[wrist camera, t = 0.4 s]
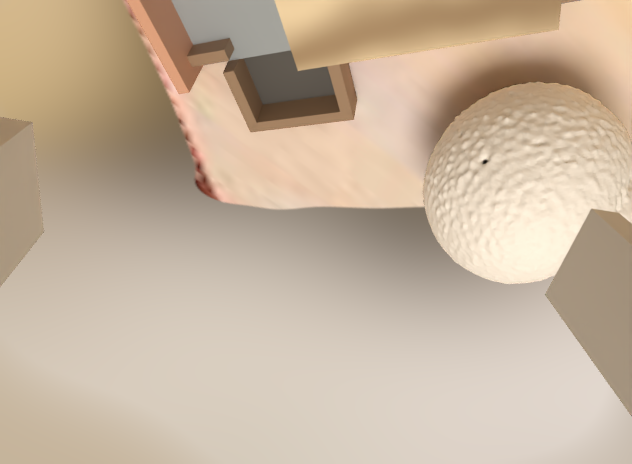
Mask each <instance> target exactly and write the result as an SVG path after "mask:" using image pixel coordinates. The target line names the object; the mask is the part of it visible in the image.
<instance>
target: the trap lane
mask: <svg viewBox="0 0 632 464" xmlns="http://www.w3.org/2000/svg"><path fill="white" fill-rule="evenodd" d="M574 1H580V0H562V1H561V4H562V3H568V2H574ZM127 2H128V4H129V6H130V7H131V9H132V11H133V13H134V14H135V16H136V18H137V20H138V22H139V23H140V25H141V27H142V29H143V31H144V32H145V34H146V36H147V38H148V40H149V41H150V43H151V45H152V47H153V49H154V50H155V52H156V54H157V56H158V57H159V59H160V61H161V63H162V65H163V66H164V68H165V70H166V72H167V74H168V75H169V77H170V79H171V81H172V83H173V84H174V86H175V88H176V90H177V91H178V93H179V94H183V93H189V92H190V90H191V88H192V86H193V84H194V82H195V80H196V78H197V76H198V74H199V73H200V71H201V69H202V67H203V65H208V64H214V63H220V62H225V61H228V63H227V65H226V68H225V70H224V72H223V74H224V76H225V78H226V80H227V82H228V85H229V87H230V89H231V91H232V93H233V95H234V98H235V100H236V102H237V104H238V106H239V108H240V111H241V113H242V115H243V117H244V119H245V121H246V124H247V126H248V128H249V130H250V132H257V131H265V130H273V129H282V128H290V127H298V126H306V125H314V124H322V123H330V122H339V121H347V120H354V115H355V109H356V103H357V96H356V92H355V88H354V84H353V80H352V76H351V72H350V68H349V64H348V63H345V64H339V65H332V66H326V67H320V68H313V69H307V70H301V71H298V69H297V66H296V63H295V60H294V57H293V54H292V52H291V49H290V46H289V43H288V40H287V37H286V34H285V31H284V28H283V25H282V22H281V19H280V16H279V13H278V10H277V7H276V4H275V1H274V0H127Z"/></svg>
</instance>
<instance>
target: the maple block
mask: <svg viewBox="0 0 632 464" xmlns="http://www.w3.org/2000/svg"><path fill="white" fill-rule="evenodd" d="M274 1H275V4H276V7H277V10H278V13H279V16H280V19H281V22H282V25H283V28H284V31H285V34H286V37H287V40H288V43H289V46H290V49H291V52H292V54H293V57H294V60H295V63H296V66H297V69H298V71H301V70H307V69H313V68H320V67H326V66H332V65H339V64H345V63H351V62H357V61H364V60H370V59H376V58H383V57H389V56H395V55H402V54H408V53H414V52H421V51H427V50H433V49H440V48H446V47H452V46H459V45H465V44H471V43H478V42H484V41H490V40H497V39H503V38H509V37H516V36H522V35H528V34H534V33H541V32H547V31H553V30H559V21H560V11H561V1H562V0H274Z"/></svg>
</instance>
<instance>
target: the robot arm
mask: <svg viewBox="0 0 632 464" xmlns="http://www.w3.org/2000/svg"><path fill="white" fill-rule="evenodd" d="M43 233H44V228H43V218H42V209H41V199H40V190H39V181H38V171H37V162H36V151H35V142H34V134H33V123H32V122H28V121H22V120H16V119H9V118H2V117H0V287H1V285H2V284H3V283H4V282H5V280H6V279H7V278H8V277H9V275H10V274H11V273H12V271H13V270H14V269H15V268H16V266H17V265H18V264H19V263H20V262H21V260H22V259H23V258H24V257H25V255H26V254H27V253H28V251H29V250H30V249H31V248H32V246H33V245H34V244H35V243H36V241H37V240H38V239H39V237H40V236H41V235H42V234H43ZM545 295H546V297H547V298H548V299H549V301H550V302H551V304H552V305H553V307H554V308H555V309H556V311H557V312H558V314H559V315H560V316H561V318H562V319H563V321H564V322H565V323H566V325H567V326H568V328H569V329H570V330H571V332H572V333H573V335H574V336H575V337H576V339H577V340H578V342H579V343H580V344H581V346H582V347H583V349H584V350H585V351H586V353H587V354H588V356H589V357H590V359H591V360H592V361H593V363H594V364H595V365H596V367H597V368H598V370H599V371H600V372H601V374H602V375H603V377H604V378H605V380H606V381H607V382H608V384H609V385H610V387H611V388H612V389H613V391H614V392H615V394H616V395H617V396H618V397H619V399H620V401H621V402H622V403H623V405H624V406H625V408H626V409H627V410H628V412H629V413H630V415H631V416H632V224H631V223H630V222H629V221H628V220H627V219H626V218H624V217H623V216H622V215H621V214H620V213H617V212H611V211H604V210H598V209H592V208H591V210H590V212H589V214H588V216H587V217H586V219H585V221H584V223H583V225H582V227H581V229H580V230H579V232H578V234H577V236H576V238H575V240H574V242H573V243H572V245H571V247H570V249H569V251H568V253H567V255H566V256H565V258H564V260H563V262H562V264H561V266H560V268H559V269H558V271H557V273H556V275H555V277H554V279H553V281H552V282H551V284H550V286H549V288H548V290H547V292H546V294H545Z"/></svg>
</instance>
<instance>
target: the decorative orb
mask: <svg viewBox="0 0 632 464" xmlns="http://www.w3.org/2000/svg"><path fill="white" fill-rule="evenodd" d="M423 197H424V200H423V202H424V206H425V210H426V215H427V217H428V221H429V224H430V226H431V229H432V231H433V234H434V235H435V236H436V239H437V241H438V242H439V243H440V245H441V246H442V248H443V249H444V250H445V251H446V253H448V255H449V256H451V258H453V260H454V261H455V262H456V263H458V264H460V265H461V266H462V267H464V268H465V269H466V270H468V271H471V272H473V273H474V274H476V275H479V276H481V277H483V278H485V279H489V280H491V281H496V282H500V283H506V284H512V283H516V284H518V283H526V282H528V283H531V282H534V281H541V280H543V279H547V278H548V277H550V276H554V275H556V273H557V271H558V269H559V268H560V266H561V264H562V262H563V260H564V258H565V256H566V255H567V253H568V251H569V249H570V247H571V245H572V243H573V242H574V240H575V238H576V236H577V234H578V232H579V230H580V229H581V227H582V225H583V223H584V221H585V219H586V217H587V216H588V214H589V212H590V210H591V208H592V209H598V210H604V211H611V212H617V213H620V214H621V215H622V216H623V217H624V218H626V219H627V220H628V221H629V222H630V223H631V224H632V142H631V140H630V137H629V135H628V132H627V130H626V129H625V128H624V127H623V124H622V122H620V121H619V120H618V118H616V116H615V115H614V114H612V112H611V111H610V110H608V109H607V108H606V107H605V106H604V105H602V104H601V101H600V100H597V99H594V98H593V97H592V96H591V95H590V94H588V93H585V92H582V91H581V90H580V89H576V88H574V87H571V86H569V85H560V84H559V83H543V82H539V81H538V82H535V83H532V82H528V83H526V84H517V85H512V86H510V87H505V88H503V89H501V90H498V91H495V92H491V93H490V94H489V95H488V96H486V97H484V98H482V99H479V100H478V101H477V102H476V103H475V104H472V105H471V106H470V107H469V108H468V109H466V110H463V111H462V112H461V115H459V116H456V117H455V121H454V122H452V123H451V124H450V125H449V127H447V129H446V131H445V132H444V133H443V135H442V137H441V138H440V140H439V142H438V143H437V144H436V146H435V147H434V152H433V153H431V157H430V160H429V162H428V165H427V169H426V174H425V178H424V185H423Z"/></svg>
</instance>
